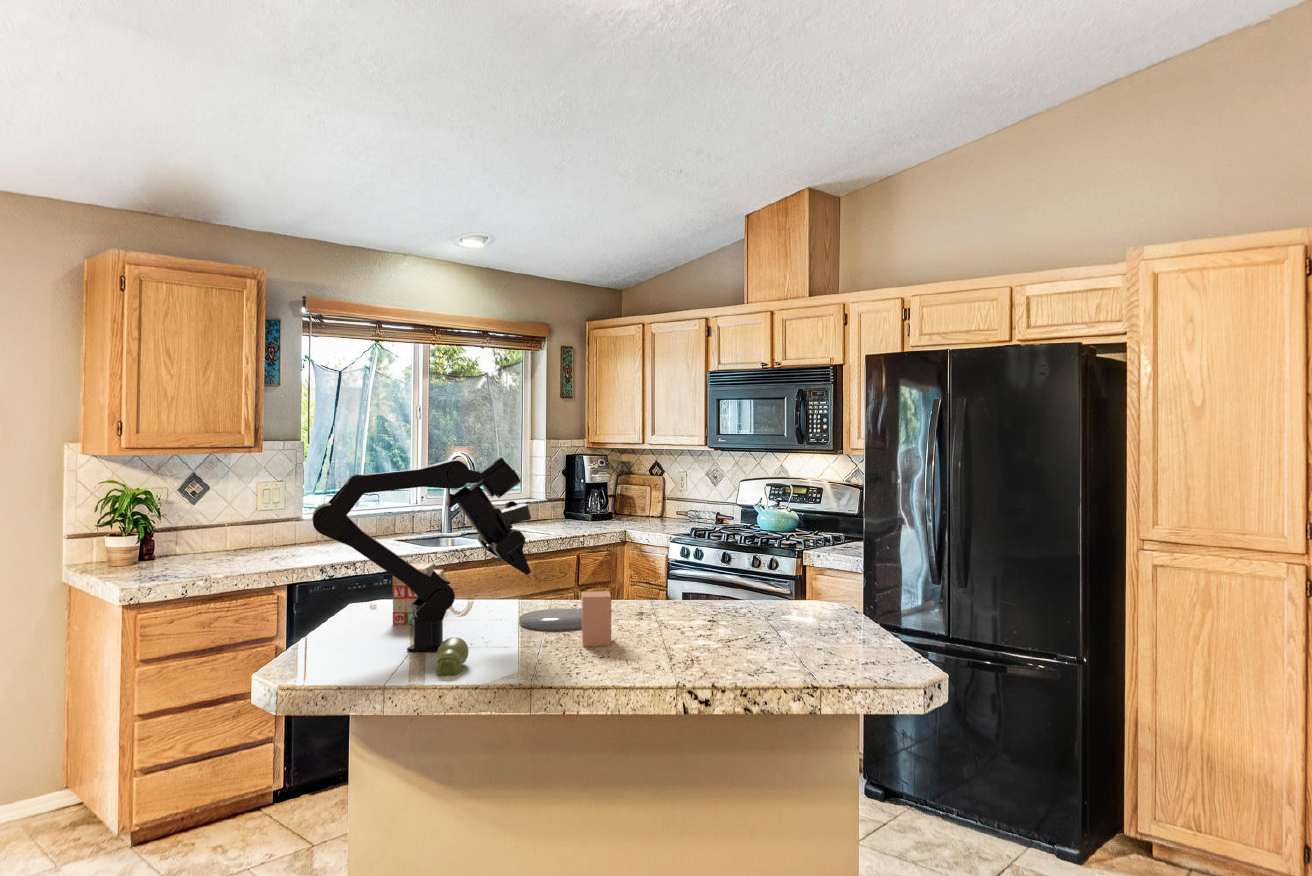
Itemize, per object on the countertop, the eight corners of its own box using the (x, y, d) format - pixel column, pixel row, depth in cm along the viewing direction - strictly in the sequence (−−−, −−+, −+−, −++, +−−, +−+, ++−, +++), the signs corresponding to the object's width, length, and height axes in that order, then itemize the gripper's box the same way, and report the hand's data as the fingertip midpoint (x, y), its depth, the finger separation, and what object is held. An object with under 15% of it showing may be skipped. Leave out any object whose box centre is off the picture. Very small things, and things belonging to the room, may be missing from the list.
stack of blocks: (420, 606, 212) (420, 557, 212) (444, 606, 212) (444, 557, 212) (392, 625, 191) (392, 571, 191) (419, 625, 191) (419, 571, 191)
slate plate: (590, 631, 183) (590, 626, 183) (509, 630, 185) (509, 624, 185) (604, 614, 201) (604, 609, 201) (530, 612, 203) (530, 607, 203)
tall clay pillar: (611, 645, 172) (611, 596, 172) (582, 646, 171) (582, 597, 171) (609, 638, 177) (608, 591, 177) (581, 639, 177) (581, 592, 177)
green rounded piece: (470, 633, 159) (461, 655, 149) (471, 659, 160) (462, 683, 150) (441, 633, 159) (429, 655, 149) (441, 659, 160) (430, 683, 150)
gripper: (523, 491, 168) (566, 552, 172) (502, 486, 185) (541, 541, 189) (477, 525, 164) (522, 587, 168) (460, 516, 182) (501, 573, 185)
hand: (523, 570), depth 178 cm, fingers open, 9 cm apart
